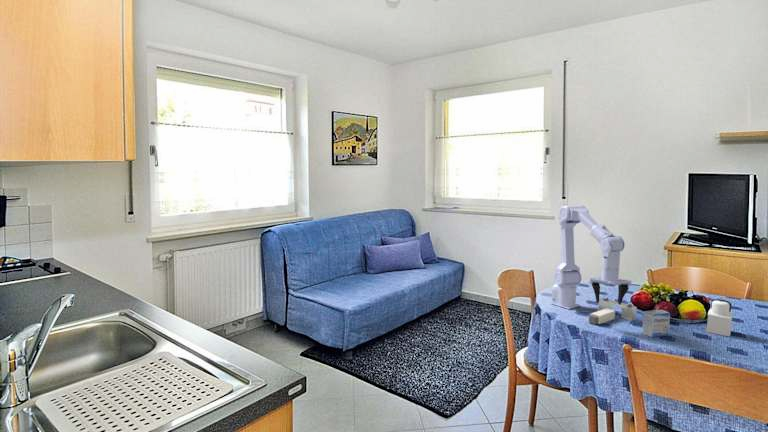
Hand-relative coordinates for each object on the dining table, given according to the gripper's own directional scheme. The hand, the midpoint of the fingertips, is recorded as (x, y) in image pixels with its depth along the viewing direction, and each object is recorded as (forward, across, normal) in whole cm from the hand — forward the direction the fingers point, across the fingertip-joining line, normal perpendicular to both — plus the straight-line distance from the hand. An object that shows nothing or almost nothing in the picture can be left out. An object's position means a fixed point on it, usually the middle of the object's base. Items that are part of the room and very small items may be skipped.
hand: (608, 302), depth 175 cm
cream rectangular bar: (+9, 0, +6) cm, 11 cm away
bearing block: (+9, +6, +14) cm, 18 cm away
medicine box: (+9, +15, -5) cm, 19 cm away
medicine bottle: (+9, +39, +4) cm, 40 cm away
